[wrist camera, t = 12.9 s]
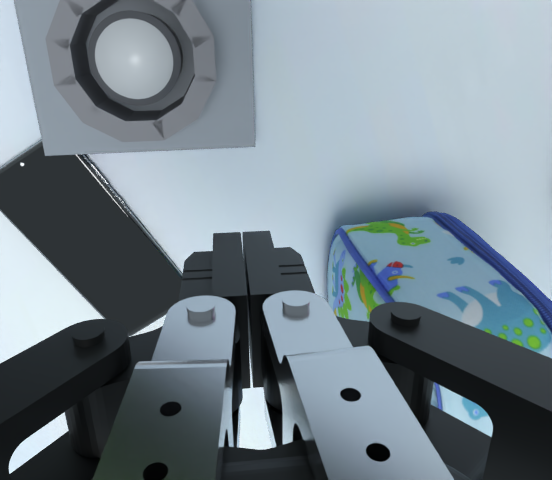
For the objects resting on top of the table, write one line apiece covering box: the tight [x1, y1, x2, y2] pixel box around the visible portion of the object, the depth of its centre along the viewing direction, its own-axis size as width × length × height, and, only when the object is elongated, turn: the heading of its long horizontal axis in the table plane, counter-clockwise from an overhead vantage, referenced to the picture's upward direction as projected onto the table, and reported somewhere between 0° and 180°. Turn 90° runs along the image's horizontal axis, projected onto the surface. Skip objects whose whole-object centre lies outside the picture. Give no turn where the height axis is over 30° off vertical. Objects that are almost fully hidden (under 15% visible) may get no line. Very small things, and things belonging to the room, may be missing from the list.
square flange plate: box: [14, 0, 255, 156], centre depth 30 cm, size 14×12×6 cm
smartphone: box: [0, 139, 183, 336], centre depth 37 cm, size 7×1×16 cm
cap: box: [88, 10, 183, 106], centre depth 29 cm, size 5×5×4 cm
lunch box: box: [328, 212, 552, 437], centre depth 35 cm, size 26×11×21 cm, turn 5°
